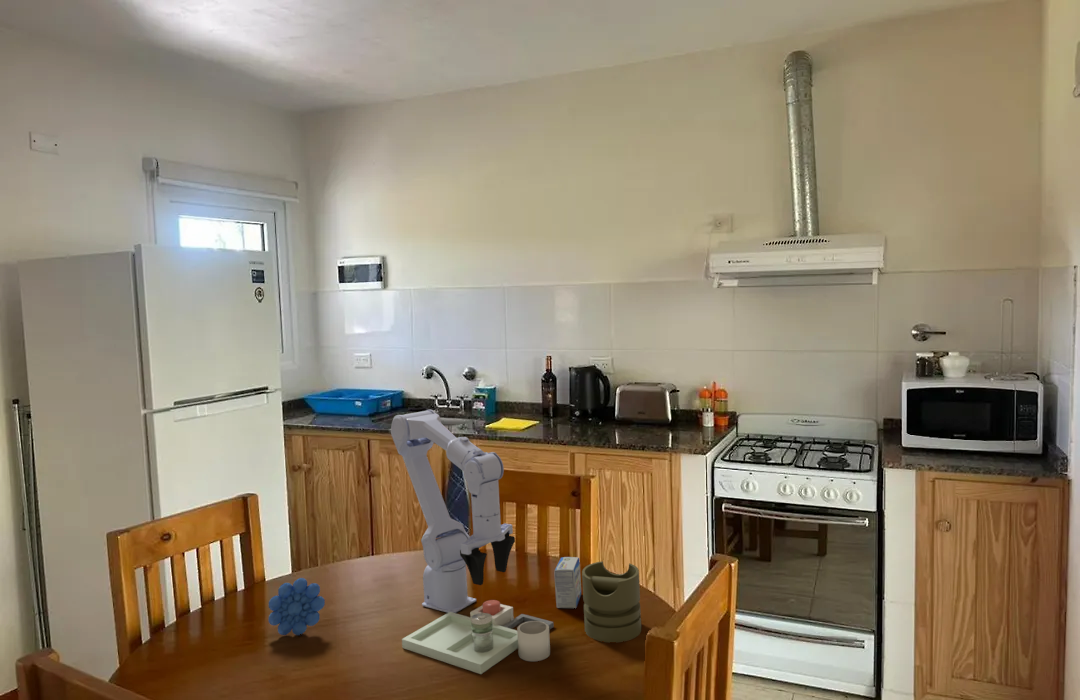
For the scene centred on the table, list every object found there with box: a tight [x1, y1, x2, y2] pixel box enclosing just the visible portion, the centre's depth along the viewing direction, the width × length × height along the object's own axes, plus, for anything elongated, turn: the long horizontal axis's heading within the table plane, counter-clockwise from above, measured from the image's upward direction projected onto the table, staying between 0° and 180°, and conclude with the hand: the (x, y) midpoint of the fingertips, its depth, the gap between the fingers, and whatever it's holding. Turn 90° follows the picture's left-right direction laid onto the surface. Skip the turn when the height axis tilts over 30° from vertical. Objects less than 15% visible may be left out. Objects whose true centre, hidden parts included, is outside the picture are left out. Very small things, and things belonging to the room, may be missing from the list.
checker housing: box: [469, 603, 515, 626], centre depth 152 cm, size 6×6×3 cm
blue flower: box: [268, 577, 326, 636], centre depth 152 cm, size 12×7×12 cm, turn 94°
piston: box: [581, 560, 642, 643], centre depth 147 cm, size 11×12×11 cm
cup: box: [516, 621, 551, 662], centre depth 139 cm, size 6×6×5 cm
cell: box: [470, 613, 494, 653], centre depth 141 cm, size 4×4×6 cm
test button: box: [482, 599, 501, 616], centre depth 152 cm, size 4×4×4 cm
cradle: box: [503, 613, 555, 631], centre depth 149 cm, size 8×8×1 cm
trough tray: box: [401, 612, 518, 675], centre depth 144 cm, size 20×14×2 cm
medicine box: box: [553, 556, 582, 609], centre depth 161 cm, size 8×4×9 cm, turn 168°
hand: (489, 577), depth 152 cm, fingers open, 7 cm apart
